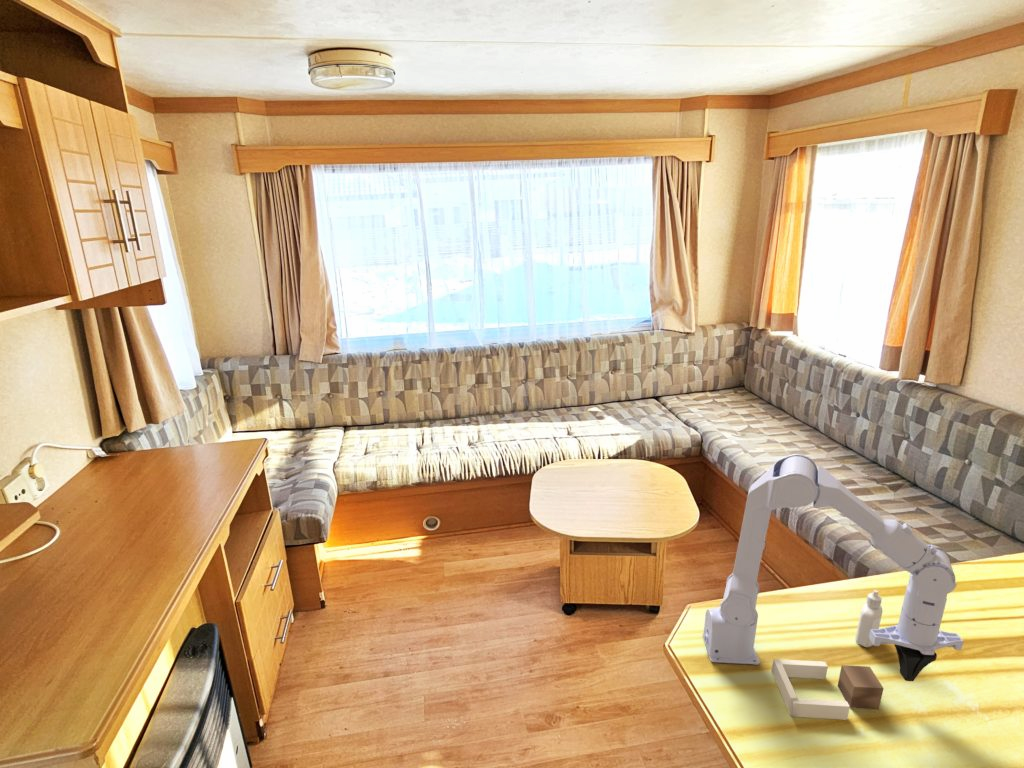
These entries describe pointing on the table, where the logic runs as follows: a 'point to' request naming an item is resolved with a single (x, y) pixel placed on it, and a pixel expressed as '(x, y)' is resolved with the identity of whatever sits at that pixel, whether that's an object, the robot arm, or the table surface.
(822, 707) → the dock
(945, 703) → the table surface
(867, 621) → the eye dropper bottle
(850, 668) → the walnut cube
